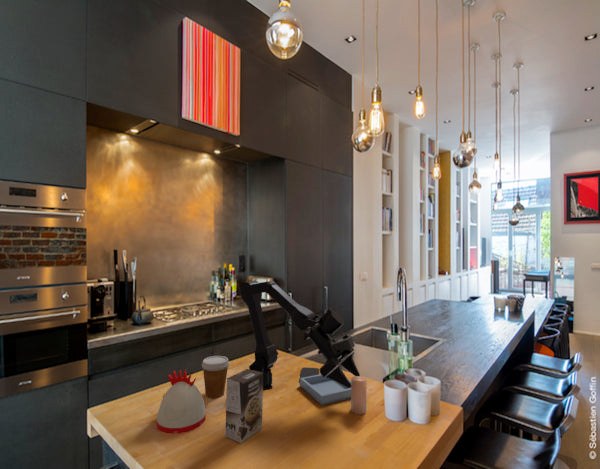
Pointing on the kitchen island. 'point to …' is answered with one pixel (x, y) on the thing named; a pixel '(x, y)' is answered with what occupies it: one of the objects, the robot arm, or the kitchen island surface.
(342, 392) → the tray
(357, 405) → the tan rounded glossy part
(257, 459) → the kitchen island surface
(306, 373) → the phone
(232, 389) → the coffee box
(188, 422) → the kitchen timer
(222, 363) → the disposable coffee cup
